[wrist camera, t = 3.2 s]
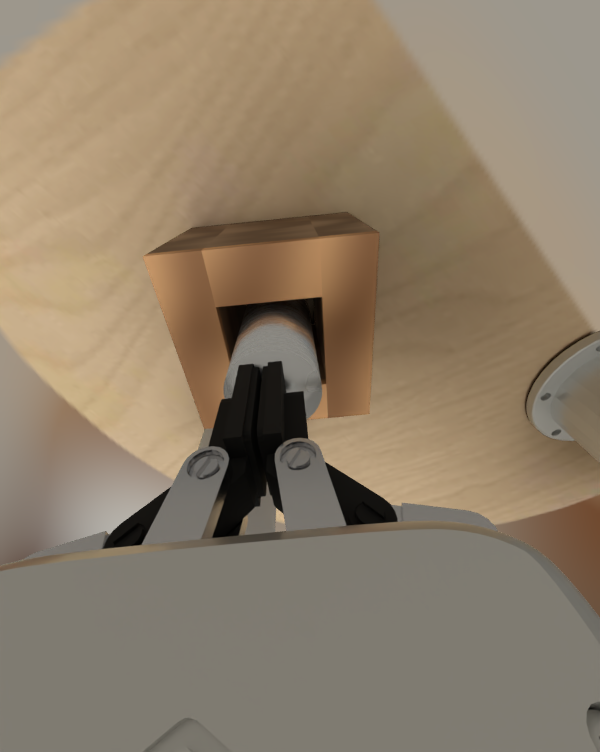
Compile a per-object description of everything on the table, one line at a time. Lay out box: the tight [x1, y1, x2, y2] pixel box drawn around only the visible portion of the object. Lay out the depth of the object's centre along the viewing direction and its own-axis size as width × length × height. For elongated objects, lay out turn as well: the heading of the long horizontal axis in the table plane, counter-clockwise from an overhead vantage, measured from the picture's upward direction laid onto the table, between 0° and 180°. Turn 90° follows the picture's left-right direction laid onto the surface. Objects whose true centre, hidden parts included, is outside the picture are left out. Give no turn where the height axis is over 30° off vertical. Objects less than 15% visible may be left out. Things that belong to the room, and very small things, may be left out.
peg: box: [223, 299, 322, 420], centre depth 16 cm, size 4×4×8 cm
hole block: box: [143, 212, 379, 429], centre depth 19 cm, size 10×10×8 cm
